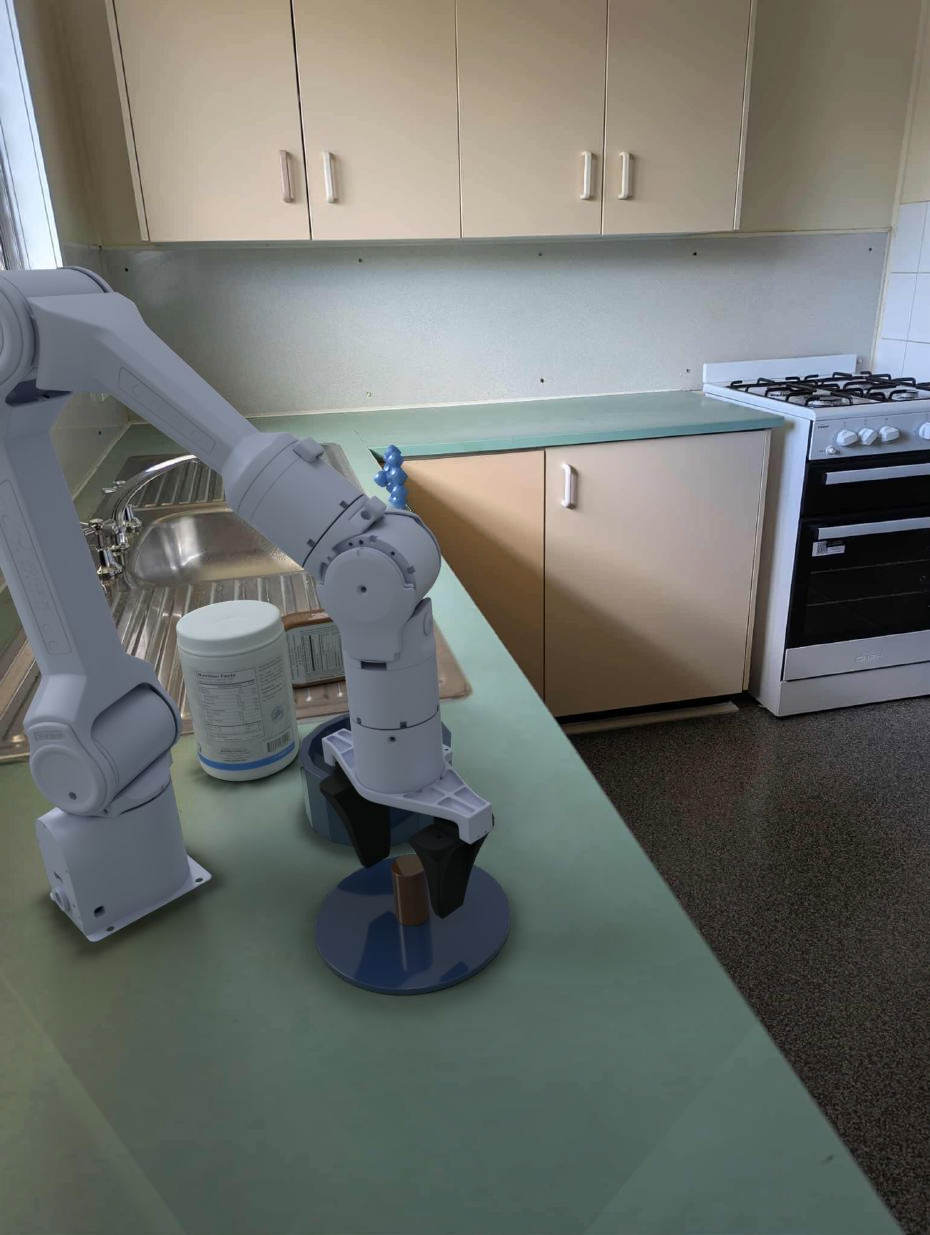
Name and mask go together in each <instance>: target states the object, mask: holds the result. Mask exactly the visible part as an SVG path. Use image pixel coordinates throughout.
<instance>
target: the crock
mask: <svg viewBox="0 0 930 1235" xmlns="http://www.w3.org/2000/svg"><path fill="white" fill-rule="evenodd" d="M441 728H442V742H443V744H444V745H446V746H448V747H450V748H451V749H452V750H453V740H452V739H453V738H452V731H451V730H450V729H449V728H448V727H447V726H446V725H445V723H444V722H443V721H442V720H441ZM341 729H346V730H348V731H351V723H350V714H349V712H347V713H343V714H340V715H338V716H336V717H333V718H330V719H329V720H327V721H325V722H322V723H320V724H319V725H318V726H316V727H315V728H314V729H313V730H312V731H310V732H309V733H308V734H307V735H306V736H305V737H304V738H303V739H302V742H301V745H300V747H299V750H298V753H297V756H298V764H299V770H300V771H299V772H300V777H301V778H300V779H301V786H302V791H303V792H302V793H303V798H304V806H305V807H304V808H305V813H306V817H307V819H308V821H309V823H310V826H311V829H312V830H313V831H314V832H316V833H317V834H319V835H320V836H321V837H323V838H324V839H326V840H328V841H329V842H330V843H334V844H339V845H342V846H343V845H344V846H348V847H352V848H354V847H353V844H352V842H351V839H350V837H349V835H348V833H347V830H346V828H345V826H344V824H343V822H342V821H341V819H340V817H339V815H338V814H337V812H336V811H335V809H334V808H333V806H332V805H331V804H330V802H329V801H328V800H327V799H326V798H325V796H324V795H323V794H322V793H321V792H320V788H319V784H320V782H321V781H322V780H323V779H325V778H326V777H328V776H330V775H332V774H334V773H333V770H336V768H335V766H331V765H329V764H327V763H326V762H325V760H324V753H323V745H322V739H323V738H325V737H327V736H329V735H331V734H333V733H335V732H337V731H339V730H341ZM452 753H453V751H452ZM448 763H449V764H450V765H451V766H452V767H453V768H454V758H453V759H452V760H451V761H449V762H448ZM433 817H435V816H431V815H427V814H422V813H418V812H414V811H409V810H405V809H401V808H396V807H392V806H390V829H391V845H390V848H391V847H395V846H398V845H399V846H400V845H401V844H405V843H409V839H408V838H409V837H411V836H412V835H414V834H415V833H417V832H419V831H420V830H422V829H424V828H425V827H427V826H428V825H430V824H434V819H433Z"/></svg>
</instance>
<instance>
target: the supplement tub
mask: <svg viewBox="0 0 930 1235" xmlns="http://www.w3.org/2000/svg"><path fill="white" fill-rule="evenodd" d="M281 617H282V614H281V611H280V609H279V608H278V606H276V605H274V604H272V603H269V602H268V601H267V602H266V601H263V600H256V599H255V600H254V599H237V600H227V601H226V600H225V601H222V602H221V601H220V602H215V603H212V604H207V605H205V606H201V607H198V608H196V609H193V610H192V611H189V612H188V613H186V614H184V615H183V616H182V617H181V618H180V619H179V620H178V622H177V623H176V626H175V630H176V636H177V638H176V644H177V650H178V655H179V662H180V666H181V671H182V676H183V682H184V687H185V692H186V698H187V702H188V708H189V713H190V718H191V725H192V729H193V734H194V735H193V736H194V740H195V745H196V751H197V755H198V760H199V764H200V766H201V767H202V769H203V771H205V773H207V774H208V775H209V776H211V777H213V778H215V779H220V780H223V781H228V782H247V781H253V780H259V779H263V778H266V777H268V776H271V775H273V774H275V773H277V772H279V771H281V770H283V769H284V768H285V767H287V766H289V765H290V764H291V763H292V762H293V761H294V759H295V758H296V757H297V756H298V754H299V751H300V737H299V728H298V720H297V712H296V705H295V698H294V691H293V687H292V682H291V674H290V667H289V659H288V651H287V644H286V637H285V631H284V625H283V622H282V619H281Z"/></svg>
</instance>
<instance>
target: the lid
mask: <svg viewBox="0 0 930 1235" xmlns="http://www.w3.org/2000/svg"><path fill="white" fill-rule="evenodd" d="M510 927H511V907H510V902H509V900H508V897H507V894H506V892H505V891H504V889H503V887H502V885H500V883H499V882H498V881H497V880H496V879H495V878H494V877H493V876H492V875H491V874H490V873H488V872H487V871H486V870H484V869H482V868H481V867H479V866H477V865H475V864H473V867H472V870H471V873H470V877H469V881H468V885H467V889H466V894H465V898H464V903H463V905H462V906H461V907H459V908H458V909H456V910H455V911H454V912H452V913H451V914H449V915H448V916H447V917H445V918H444V919H441V918H440V917H438V916H437V915H435V913H434V911H433V908H432V905H431V901H430V895H429V889H428V883H427V878H426V875H425V872H424V869H423V866H422V864H421V861H420V859H419V857H418V856H417V854H416V853H415V854H414V853H413V854H411V853H410V854H403V855H398V856H393V857H387V858H385V859H383V860H382V861H380V862H379V863H377V864H375V865H374V866H372V867H371V868H369V869H366V868H365V867H363V866H362V867H361V868H360V869H358V870H356V871H354V872H352V873H351V874H349V875H348V876H346V877H345V878H343V879H342V880H341V881H340V882H339V883H337V884H336V885H335V886H334V887H333V888H332V889H331V891H330V892H329V893H328V894H327V895H326V897H325V898H324V899H323V901H322V903H321V905H320V907H319V909H318V911H317V915H316V917H315V924H314V935H315V936H314V937H315V942H316V946H317V950H318V952H319V954H320V956H321V958H322V960H323V961H324V963H325V964H326V966H327V967H328V968H329V970H332V972H333V973H334V974H335V975H336V976H338V977H339V978H341V979H342V980H344V981H345V982H347V983H349V984H351V985H353V986H354V987H355V986H356V987H358V988H361V989H363V990H366V991H370V992H375V993H378V994H385V995H394V996H395V995H397V996H398V995H399V996H400V995H402V996H404V995H406V996H407V995H410V996H411V995H420V994H426V993H431V992H436V991H440V990H443V989H446V988H451V987H452V986H454V985H457V984H459V983H462V982H463V981H466V980H468V979H469V978H471V977H473V976H474V975H476V974H477V973H478V972H480V971H481V970H483V969H485V967H487V965H489V963H491V962H492V961H493V960H494V958H495V957H496V956H498V953H499V952H501V949H502V948H503V946H504V944H505V942H506V940H507V937H508V935H509V932H510Z"/></svg>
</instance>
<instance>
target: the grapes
mask: <svg viewBox="0 0 930 1235" xmlns="http://www.w3.org/2000/svg"><path fill="white" fill-rule="evenodd" d="M383 453H384V454H383V457H382V460H383V461H384V462H385V464H384V466H383V469H382V470H379V471H377V473H376V474H375V476H374V477H373V481H374V482H375V484H376V485H377V486H379V487H380V488H382V489H383V488H385V490H386V491H387V493H389V494H390V496H389V498H388V501H389V503H390V504H391V505H392V506H393V507H394V509H402V510H404V508H406V505H407V504H408V502H409V500H408V499H407V496H408V494H409V492H410V491H409V489H407V488H406V486H405V483H406V481H407V480H408V478H409V475H408V474H407V473H406V472H405V471H404V469H403V468H402V466H403V464H404V461H405V458H404V457H403V456H402V455H401V454H402V451H401V450H400V449H399V448H398V447H397V446H396V445H394V444H390V445H388V447H387V448H386V450H385V451H384V452H383Z"/></svg>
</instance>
